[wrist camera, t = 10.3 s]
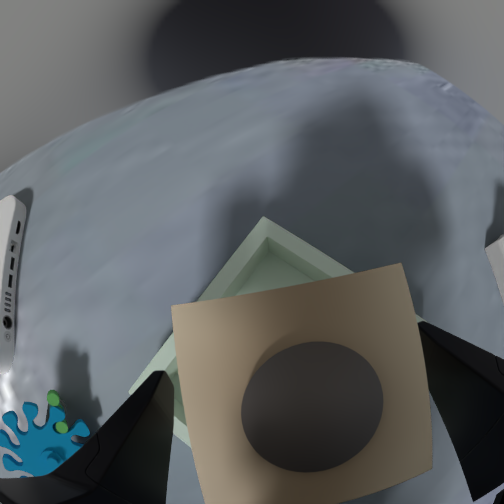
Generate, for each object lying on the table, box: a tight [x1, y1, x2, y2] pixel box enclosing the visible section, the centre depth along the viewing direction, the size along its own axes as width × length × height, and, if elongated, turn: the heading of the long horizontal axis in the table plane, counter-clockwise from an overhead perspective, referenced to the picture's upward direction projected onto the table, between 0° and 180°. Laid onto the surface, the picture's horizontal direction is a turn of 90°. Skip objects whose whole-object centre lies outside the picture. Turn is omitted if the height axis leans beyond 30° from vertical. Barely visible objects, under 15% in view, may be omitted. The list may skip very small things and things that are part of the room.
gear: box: [0, 390, 90, 478], centre depth 13 cm, size 11×6×10 cm
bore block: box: [171, 263, 432, 504], centre depth 10 cm, size 4×4×13 cm
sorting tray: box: [128, 216, 428, 447], centre depth 15 cm, size 14×14×4 cm
